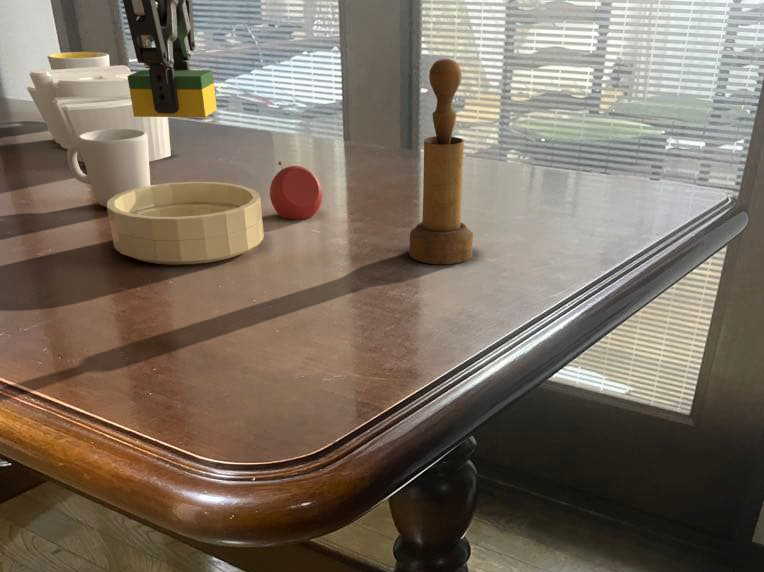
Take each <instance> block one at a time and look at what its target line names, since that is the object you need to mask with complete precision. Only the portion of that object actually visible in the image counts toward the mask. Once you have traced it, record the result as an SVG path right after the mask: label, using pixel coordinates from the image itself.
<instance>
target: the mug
mask: <svg viewBox="0 0 764 572" xmlns="http://www.w3.org/2000/svg"><path fill="white" fill-rule="evenodd" d="M46 57H47V60H48V62H49V63H48V64H49V66H50V70H57V69H72V68H87V67H103V66H111V64H110V55H109V54H108V53H106V52H98V51H97V52H96V51H70V52H55V53H50V54H47V56H46Z"/></svg>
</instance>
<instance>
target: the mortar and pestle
mask: <svg viewBox="0 0 764 572" xmlns="http://www.w3.org/2000/svg"><path fill="white" fill-rule="evenodd" d="M428 79H429V80H428V81H429V84H430V87H431V89H432V91H433V93H434V95H435V98H436V108H435V110H434V111H433V112H432V115H431V116H432V122H433V127H434V128H433V129H434V132H435V135H433V136H429V137H427V138H424V139H423V184H422V186H423V188H422V189H423V190H422V217H421V218H422V220H421V222H419V223H418V224H417V225H416V226H415V227H414V228H413V229H411V230H410V232H409V256H410V258H412V259H413V260H415V261H418V262H420V263H425V264H431V265H452V264H460V263H463V262H466V261H468V260H470V259H471V258H472V256H473V248H474V247H473V246H474V234H473V231H472V230H471V229H469V228H468V227H467V225H466V224H465V223H464V222H461V220H462V218H461V217H462V195H463V172H464V171H463V170H464V147H465V141H464V139H463V138H460V137H456V136H452V135H453V132H454V127H455V124H456V121H457V112H455V111H454V109H453V100H454V97H455V95H456V93H457V91H458V89H459V87H460V85H461V82H462V70H461V68H460V65H459V63H458V62H457V61H456V60H454V59H451V58H441V59H438V60H436V61H435V62H433V64H431V67H430V69H429V75H428Z"/></svg>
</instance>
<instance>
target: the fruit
mask: <svg viewBox="0 0 764 572" xmlns="http://www.w3.org/2000/svg"><path fill="white" fill-rule="evenodd" d="M282 163H283V162H282V161H278V165H279V166H281V170H279V171H278V172H277V173H276V174H275V175H274V177H273V179H272V181H271V184H270V187H269V197H270V202H271V204H272V207H273V209H274V210H275V212H276V213H277V214H278V215H279V216H280V217H281V218H284V219H287V220H306V219H307V220H308V219H310V218H312V217H315V215H316V214H317V213H318V211H319V209H320V207H321V205H322V201H323V189H322V185H321V182H320V181H319V179H318V177H317V176H316V175H315V173H313V172H312V171H311V170H310V169H308V168H306V167H304V166H299V165H290V166H287V167H284V168H283V165H282Z"/></svg>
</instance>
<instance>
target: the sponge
mask: <svg viewBox="0 0 764 572" xmlns="http://www.w3.org/2000/svg"><path fill="white" fill-rule="evenodd" d="M135 72H136V73H134V74H131V75H129V76H127V77H128V83H129V88H130V95H131V101H132V108H133V114H134V117H168V118H207V117H208V116H210V115H211V114H212V113H214V112H216V111H217V110H218V108H217V107H218V106H217V100H216V90H215V82H214V81H215V80H214V73H213V70H211V69H210V70H209V69H190V70H174V72H175V81H176V88H177V96H178V103H179V110H178V111H177V112H176V113H157V112H156V111H155V109H154V102H153V96H152V89H151V82H150V76H149V69H141V70H139V71H135Z"/></svg>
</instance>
